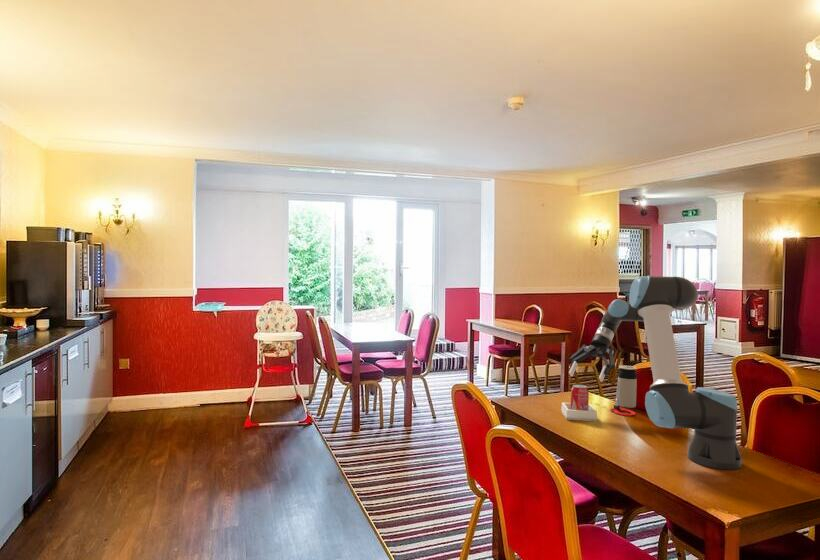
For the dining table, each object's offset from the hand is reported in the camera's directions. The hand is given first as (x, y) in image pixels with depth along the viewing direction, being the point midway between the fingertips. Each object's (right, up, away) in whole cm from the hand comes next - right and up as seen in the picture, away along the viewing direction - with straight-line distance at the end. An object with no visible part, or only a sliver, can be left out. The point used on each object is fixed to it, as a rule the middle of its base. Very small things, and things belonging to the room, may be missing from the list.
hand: (585, 377), depth 215 cm
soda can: (-3, -15, -3) cm, 16 cm away
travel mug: (+25, -17, +16) cm, 34 cm away
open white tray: (-4, -16, -2) cm, 17 cm away
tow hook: (+18, -17, +4) cm, 25 cm away
